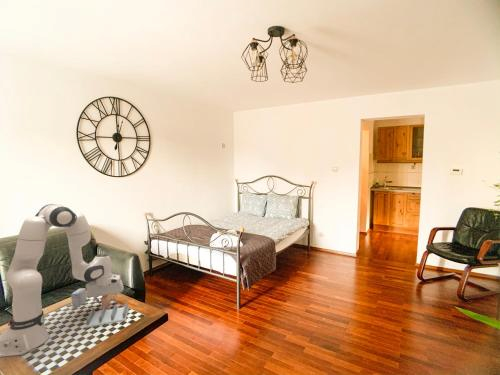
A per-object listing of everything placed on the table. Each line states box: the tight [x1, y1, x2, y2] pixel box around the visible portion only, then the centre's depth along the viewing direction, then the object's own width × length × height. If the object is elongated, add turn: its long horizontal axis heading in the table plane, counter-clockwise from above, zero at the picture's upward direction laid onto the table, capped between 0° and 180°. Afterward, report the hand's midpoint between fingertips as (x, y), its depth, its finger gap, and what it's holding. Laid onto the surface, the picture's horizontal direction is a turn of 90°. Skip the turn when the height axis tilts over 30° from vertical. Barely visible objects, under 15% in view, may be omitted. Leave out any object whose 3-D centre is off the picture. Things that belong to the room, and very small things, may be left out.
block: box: [100, 294, 111, 310], centre depth 166 cm, size 3×8×7 cm, turn 17°
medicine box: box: [70, 287, 88, 308], centre depth 170 cm, size 8×4×9 cm, turn 178°
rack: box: [85, 302, 130, 329], centre depth 154 cm, size 20×14×4 cm
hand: (106, 300), depth 166 cm, fingers open, 8 cm apart
